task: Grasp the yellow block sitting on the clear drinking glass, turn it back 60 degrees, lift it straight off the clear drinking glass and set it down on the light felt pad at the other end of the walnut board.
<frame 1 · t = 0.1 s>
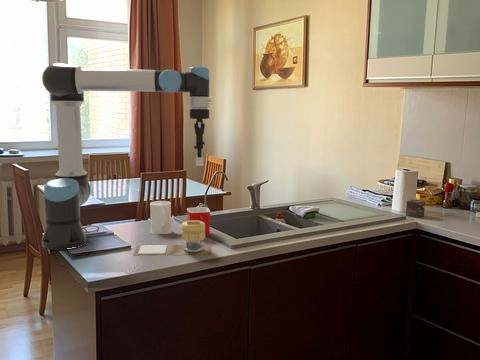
hand: (199, 163, 185), 28 cm above the worktop, fingers open, 13 cm apart
clear drinking glass: (193, 249, 165), resting on board
box: (414, 216, 221), on the worktop
pad: (152, 250, 164), resting on board
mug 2: (199, 238, 183), on the worktop
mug: (161, 233, 189), on the worktop
yellow block: (193, 237, 164), point 5 cm above the worktop, touching clear drinking glass
board: (173, 253, 165), on the worktop
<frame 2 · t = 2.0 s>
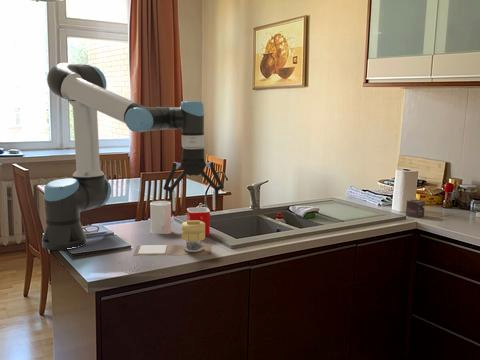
hand: (194, 209, 162), 15 cm above the worktop, fingers open, 13 cm apart
nothing on the worktop moved.
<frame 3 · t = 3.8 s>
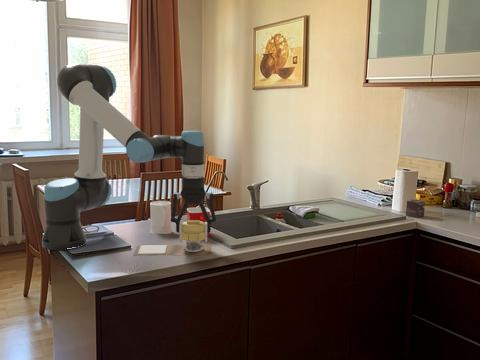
hand: (193, 241, 164), 4 cm above the worktop, fingers closed on yellow block, 8 cm apart
yellow block: (193, 237, 164), point 5 cm above the worktop, touching gripper, clear drinking glass
everything else where it was.
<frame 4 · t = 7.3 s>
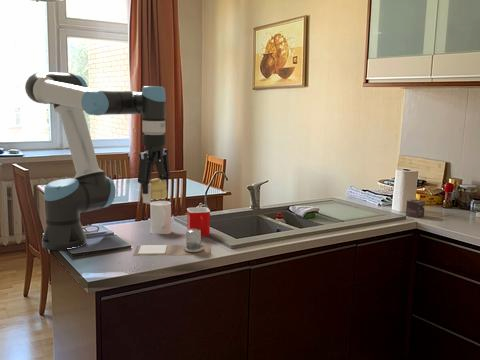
hand: (154, 200, 161), 19 cm above the worktop, fingers closed on yellow block, 8 cm apart
yellow block: (154, 196, 161), point 20 cm above the worktop, touching gripper
everything else where it was.
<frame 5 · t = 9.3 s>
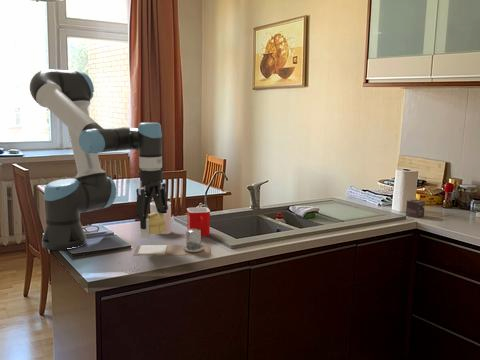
hand: (152, 234, 163), 7 cm above the worktop, fingers closed on yellow block, 8 cm apart
yellow block: (152, 230, 162), point 8 cm above the worktop, touching gripper
everything else where it was.
when the fingers open (3 cm above the worktop, at t = 10.9 s): yellow block drops 2 cm, resting on pad.
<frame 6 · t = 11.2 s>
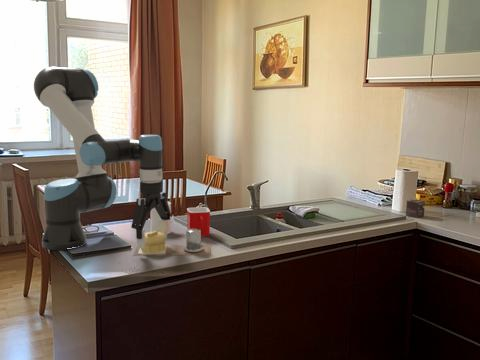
hand: (152, 242, 163), 4 cm above the worktop, fingers open, 12 cm apart
yellow block: (152, 249, 164), point 2 cm above the worktop, touching pad
everything else where it was.
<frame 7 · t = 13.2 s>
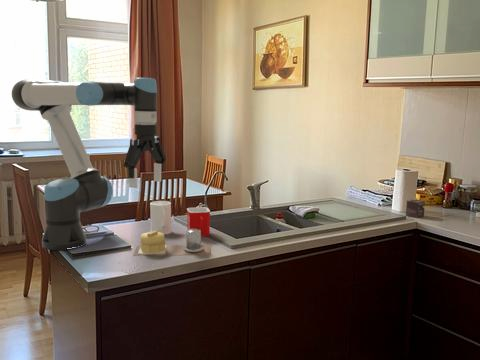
hand: (145, 184, 167), 23 cm above the worktop, fingers open, 13 cm apart
nothing on the worktop moved.
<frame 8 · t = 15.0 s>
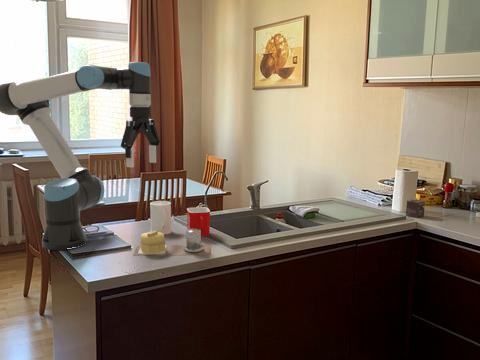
hand: (141, 164, 174), 29 cm above the worktop, fingers open, 13 cm apart
nothing on the worktop moved.
at the end: yellow block inside the target area on the pad (0.1 cm from its centre), point 0.4 cm above the pad's base; yellow block tilted 0°; the gripper is holding nothing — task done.
